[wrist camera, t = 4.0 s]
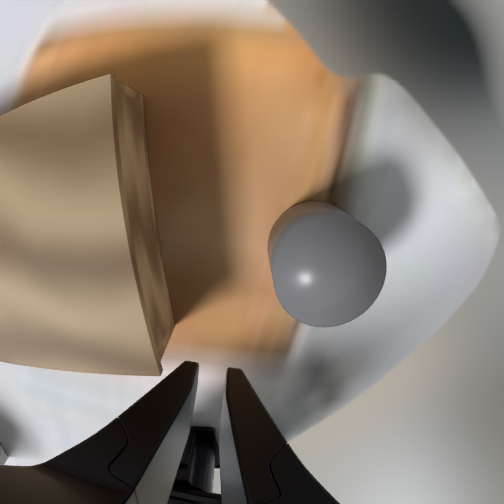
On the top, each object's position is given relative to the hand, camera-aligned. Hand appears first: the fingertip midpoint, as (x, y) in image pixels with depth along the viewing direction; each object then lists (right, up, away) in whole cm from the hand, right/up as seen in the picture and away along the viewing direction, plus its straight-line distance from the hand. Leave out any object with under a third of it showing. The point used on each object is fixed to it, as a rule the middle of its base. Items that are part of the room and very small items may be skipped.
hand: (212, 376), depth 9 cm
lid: (-14, +4, +6) cm, 16 cm away
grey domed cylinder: (+5, +4, +12) cm, 13 cm away
